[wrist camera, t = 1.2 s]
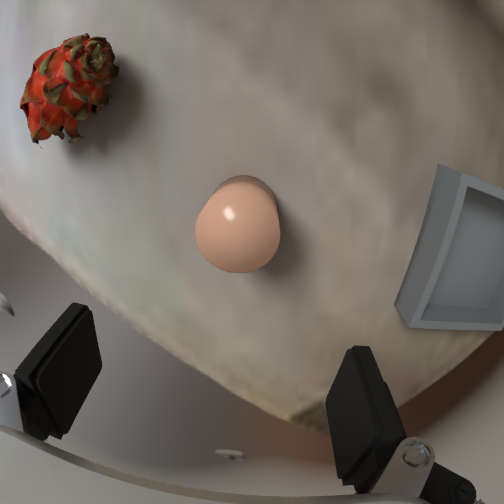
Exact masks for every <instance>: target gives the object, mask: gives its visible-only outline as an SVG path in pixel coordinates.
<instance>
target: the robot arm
mask: <svg viewBox="0 0 504 504" xmlns="http://www.w3.org/2000/svg"><path fill="white" fill-rule="evenodd" d="M101 369H102V361H101V356H100V351H99V347H98V341H97V336H96V331H95V326H94V320H93V314H92V311H90V310H89V308H88V306H86V305H83V304H79V303H72V304H71V305H70V306H69V307H68V308H67V309H66V311H65V312H64V313H63V314H62V315H61V316H60V317H59V318H58V320H57V321H56V322H55V323H54V324H53V325H52V326H51V328H50V329H49V330H48V331H47V332H46V333H45V335H44V336H43V337H42V338H41V339H40V341H39V342H38V343H37V344H36V345H35V347H34V348H33V349H32V350H31V352H30V353H29V354H28V356H27V357H26V358H25V359H24V360H23V362H22V363H21V364H20V366H19V367H18V368H17V369H16V371H15V372H16V373H15V374H14V375H13V376H12V375H11V374H9V373H8V372H4V371H0V504H485V503H484V502H483V501H482V500H481V499H480V500H479V501H477V500H476V490H475V487H474V486H473V484H472V483H471V482H470V481H469V480H467V479H465V478H463V477H461V476H459V475H458V474H456V473H454V472H452V471H450V470H448V469H446V468H445V467H443V466H441V465H439V464H437V463H436V462H434V460H435V453H434V450H433V448H432V446H431V445H430V444H429V443H428V442H427V441H425V440H424V439H421V438H418V437H410V438H407V436H406V433H405V431H404V428H403V425H402V422H401V419H400V417H399V414H398V412H397V409H396V406H395V403H394V401H393V398H392V396H391V393H390V390H389V388H388V385H387V384H386V382H384V381H383V378H382V376H381V373H380V371H379V368H378V366H377V363H376V361H375V358H374V356H373V353H372V351H371V349H370V347H369V346H353V347H352V349H348V350H347V352H346V354H345V357H344V359H343V361H342V364H341V366H340V368H339V371H338V373H337V375H336V377H335V380H334V382H333V384H332V386H331V389H330V391H329V393H328V395H327V397H326V410H327V416H328V422H329V427H330V433H331V439H332V445H333V450H334V457H335V464H336V470H337V476H338V478H339V479H342V482H343V486H345V485H354V488H355V490H356V492H355V493H354V494H351V495H336V496H313V497H312V496H311V497H280V496H257V495H244V494H233V493H224V492H215V491H209V490H202V489H196V488H189V487H184V486H179V485H174V484H169V483H165V482H160V481H156V480H152V479H147V478H144V477H140V476H136V475H133V474H129V473H125V472H122V471H119V470H116V469H113V468H110V467H106V466H104V465H101V464H98V463H95V462H92V461H89V460H86V459H84V458H81V457H79V456H76V455H74V454H71V453H69V452H66V451H64V450H61V449H59V448H57V447H54V446H52V445H50V444H48V443H47V438H48V436H49V435H51V436H53V437H55V438H57V439H60V440H61V438H62V436H63V434H67V433H68V431H69V430H70V428H71V426H72V424H73V422H74V420H75V418H76V416H77V414H78V412H79V410H80V408H81V406H82V404H83V403H84V401H85V399H86V397H87V395H88V393H89V391H90V390H91V388H92V386H93V384H94V382H95V380H96V379H97V377H98V375H99V373H100V371H101Z"/></svg>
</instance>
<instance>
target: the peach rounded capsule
mask: <svg viewBox="0 0 504 504" xmlns="http://www.w3.org/2000/svg"><path fill="white" fill-rule="evenodd" d="M195 238H196V243H197V246H198V248H199V250H200V252H201V254H202V255H203V256H204V257H205V259H206V260H207V261H208V262H210V263H211V264H212V265H213V266H215V267H217V268H219V269H221V270H223V271H226V272H231V273H247V272H251V271H254V270H257V269H259V268H261V267H262V266H264V265H265V264H266V263H268V262H269V261H270V260H271V258H272V257H273V256H274V254H275V253H276V251H277V248H278V246H279V242H280V226H279V218H278V211H277V204H276V199H275V196H274V194H273V192H272V190H271V189H270V188H269V186H268V185H267V184H265V183H264V182H263V181H261V180H260V179H258V178H255V177H252V176H246V175H241V176H235V177H232V178H229V179H227V180H226V181H224V182H223V183H222V184H220V185H219V187H218V188H217V189H216V190H215V192H214V193H213V195H212V196H211V198H210V199H209V201H208V202H207V203H206V205H205V206H204V208H203V209H202V211H201V212H200V214H199V216H198V218H197V222H196V226H195Z"/></svg>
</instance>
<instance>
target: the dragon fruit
mask: <svg viewBox="0 0 504 504" xmlns="http://www.w3.org/2000/svg"><path fill="white" fill-rule="evenodd" d="M114 60H115V56H114V53H113V51H112V47H111V45H110V43H109V42H107V41H106V38H103V37H91V38H90V36H89V35H88V33H86V34H84V35H80V36H76V37H73V38H70V39H67V40H65V41H64V42H63V43H62V45H61V46H60V47H58V48H53V49H50V50H48V51H46V52H45V53H43V54H42V55H41V56H40V57H39V58H38V59H36V61H35V62H34V64H33V71H32V74H31V77H30V78H29V80H28V81H27V83H26V86H25V91H24V94H23V96H22V98H21V101H20V109H22V110H23V111H24V112H25V115H26V117H27V121H28V128H29V130H30V132H31V138H32V141H33V143H34V142H35V143H37V144H39V143H38V142H39V141H38V140H46V139H48V138H50V137H51V134H53V135H55V136H57V135H58V136H59V137H60V138H61V139H62V140H63V139H64V134H63V132H62V131H63V128H65V130H66V133H67V134H68V135H69V136H70V137H72V139H71V140H70V141H69V143H75V142H78V141H81V140H82V139H83V138H84V137H82V136H80V134H78V131H77V127H78V121H79V120H83V121H86V120H87V118H88V116H89V114H97V112H98V111H99V107H100V106H104V105H108V104H109V103H110V102H111V101H112V99H113V95H112V94H108V95H107V93H106V90H105V88H104V86H105V85H106V84H109V83H111V82H112V81H113V80H114V79H115V78H116V77H117V76H118V74H119V69H120V68H119V67H117V66H115V65H114V64H113V62H114ZM35 143H34V144H35ZM40 148H41V147H40Z"/></svg>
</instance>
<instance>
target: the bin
mask: <svg viewBox="0 0 504 504" xmlns="http://www.w3.org/2000/svg"><path fill="white" fill-rule="evenodd" d="M394 305H395V306H396V308H397V310H398V311H399V313H400V315H401V316H402V318H403V320H404V322H405V323H406V325H407V327H408V328H425V329H447V330H485V331H501V330H502V329H503V327H504V189H501V188H499V187H497V186H495V185H492V184H490V183H488V182H485V181H483V180H480V179H478V178H476V177H473V176H471V175H468V174H465V173H463V172H460V171H457V170H455V169H452V168H449V167H446V166H443V165H440V164H438V167H437V171H436V176H435V180H434V184H433V188H432V192H431V196H430V200H429V203H428V207H427V211H426V214H425V218H424V221H423V224H422V228H421V231H420V234H419V237H418V240H417V244H416V247H415V250H414V253H413V255H412V258H411V261H410V264H409V267H408V270H407V272H406V275H405V278H404V281H403V283H402V286H401V288H400V291H399V294H398V296H397V299H396V301H395V303H394Z"/></svg>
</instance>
